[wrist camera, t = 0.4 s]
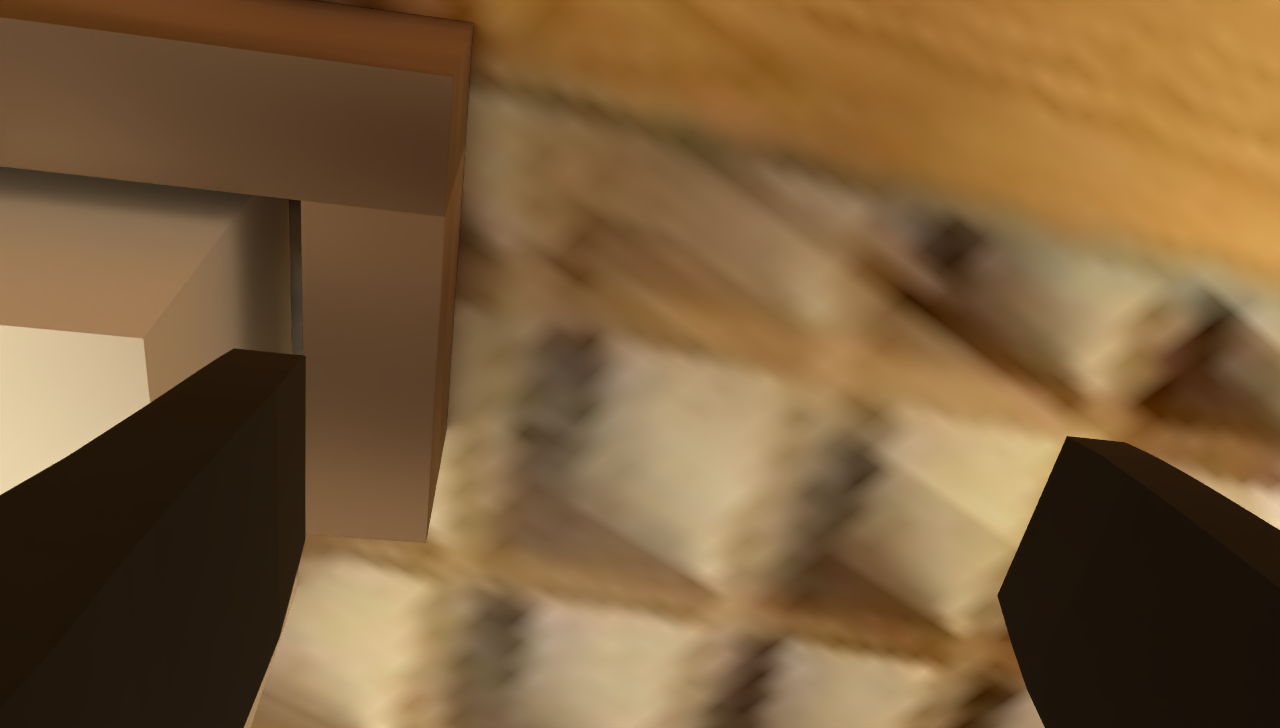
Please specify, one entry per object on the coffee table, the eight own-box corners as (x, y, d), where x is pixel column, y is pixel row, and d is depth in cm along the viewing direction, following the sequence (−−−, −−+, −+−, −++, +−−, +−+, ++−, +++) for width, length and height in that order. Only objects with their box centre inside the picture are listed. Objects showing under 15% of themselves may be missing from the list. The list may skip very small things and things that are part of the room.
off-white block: (298, 583, 22) (199, 882, 16) (57, 568, 22) (-140, 872, 16) (288, 145, 17) (142, 338, 11) (-22, 108, 17) (-351, 291, 11)
